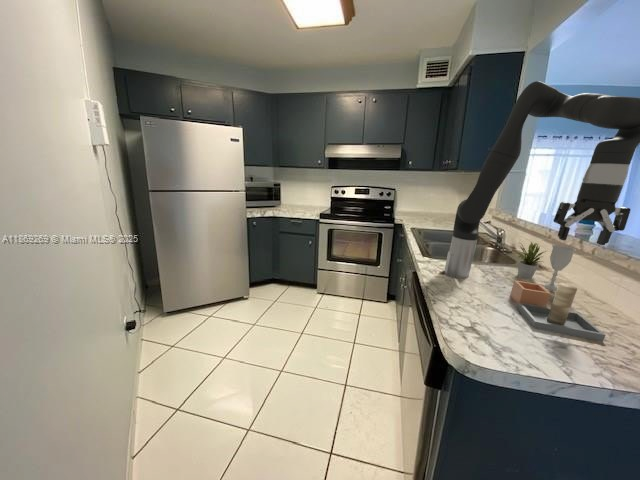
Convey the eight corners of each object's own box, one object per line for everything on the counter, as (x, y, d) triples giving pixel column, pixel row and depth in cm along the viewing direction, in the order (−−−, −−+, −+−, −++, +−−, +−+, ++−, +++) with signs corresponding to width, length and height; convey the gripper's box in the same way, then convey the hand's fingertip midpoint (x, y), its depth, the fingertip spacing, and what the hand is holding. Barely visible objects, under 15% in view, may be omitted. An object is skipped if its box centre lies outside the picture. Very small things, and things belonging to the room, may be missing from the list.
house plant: (501, 266, 127) (510, 235, 122) (536, 273, 121) (546, 239, 116) (507, 276, 114) (517, 241, 110) (546, 284, 108) (558, 247, 104)
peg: (550, 324, 76) (563, 287, 73) (544, 317, 80) (555, 282, 77) (567, 327, 75) (580, 290, 72) (559, 320, 79) (572, 284, 75)
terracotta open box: (517, 307, 87) (523, 289, 85) (509, 297, 94) (514, 280, 92) (544, 312, 85) (550, 293, 83) (533, 302, 92) (539, 284, 90)
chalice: (566, 295, 98) (581, 251, 94) (546, 293, 100) (560, 249, 95) (553, 287, 105) (567, 245, 101) (534, 285, 107) (547, 244, 102)
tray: (532, 330, 74) (535, 321, 73) (516, 310, 85) (518, 302, 85) (601, 344, 70) (605, 335, 69) (575, 321, 81) (578, 312, 80)
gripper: (576, 180, 65) (556, 241, 70) (650, 185, 61) (624, 249, 66) (561, 180, 72) (543, 235, 77) (626, 184, 68) (604, 242, 72)
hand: (581, 242), depth 71 cm, fingers open, 8 cm apart
